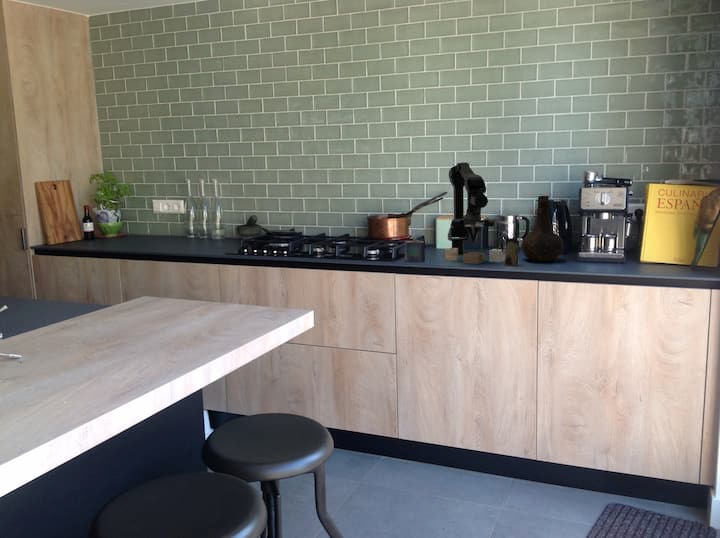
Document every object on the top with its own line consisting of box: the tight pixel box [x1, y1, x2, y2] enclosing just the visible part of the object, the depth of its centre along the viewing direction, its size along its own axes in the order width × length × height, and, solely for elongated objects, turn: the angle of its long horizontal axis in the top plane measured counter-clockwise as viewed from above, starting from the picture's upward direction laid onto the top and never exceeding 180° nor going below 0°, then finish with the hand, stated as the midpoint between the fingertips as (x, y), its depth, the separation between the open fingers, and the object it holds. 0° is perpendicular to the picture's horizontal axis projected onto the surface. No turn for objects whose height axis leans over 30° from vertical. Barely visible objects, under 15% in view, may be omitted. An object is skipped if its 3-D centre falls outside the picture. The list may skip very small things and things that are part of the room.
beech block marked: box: [444, 247, 459, 262], centre depth 299 cm, size 5×5×5 cm
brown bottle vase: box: [521, 195, 565, 263], centre depth 288 cm, size 18×18×28 cm
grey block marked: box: [488, 248, 506, 264], centre depth 292 cm, size 5×5×5 cm
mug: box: [500, 235, 519, 267], centre depth 281 cm, size 8×6×12 cm
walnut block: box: [462, 251, 486, 265], centre depth 291 cm, size 7×7×4 cm
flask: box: [404, 237, 426, 263], centre depth 296 cm, size 9×3×11 cm, turn 65°
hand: (473, 242), depth 290 cm, fingers closed
